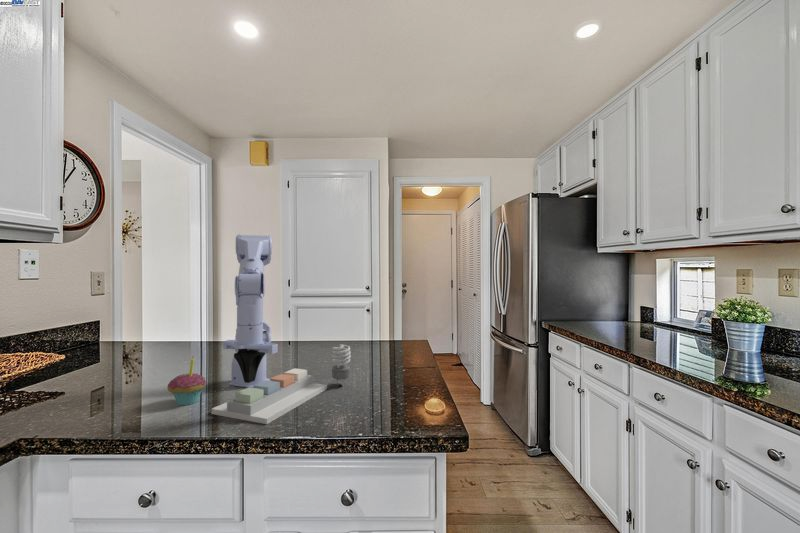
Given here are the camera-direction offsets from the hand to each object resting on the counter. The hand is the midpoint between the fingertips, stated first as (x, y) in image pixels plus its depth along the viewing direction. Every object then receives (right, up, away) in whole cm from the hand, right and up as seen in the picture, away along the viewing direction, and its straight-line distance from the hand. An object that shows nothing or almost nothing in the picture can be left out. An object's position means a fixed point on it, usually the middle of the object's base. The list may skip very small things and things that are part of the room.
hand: (249, 381), depth 87 cm
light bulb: (+18, -8, +21) cm, 29 cm away
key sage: (0, -5, 0) cm, 4 cm away
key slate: (+2, -5, +6) cm, 8 cm away
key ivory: (+6, -5, +17) cm, 19 cm away
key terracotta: (+4, -5, +11) cm, 13 cm away
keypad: (+3, -8, +9) cm, 12 cm away
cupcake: (-19, -8, +7) cm, 21 cm away
